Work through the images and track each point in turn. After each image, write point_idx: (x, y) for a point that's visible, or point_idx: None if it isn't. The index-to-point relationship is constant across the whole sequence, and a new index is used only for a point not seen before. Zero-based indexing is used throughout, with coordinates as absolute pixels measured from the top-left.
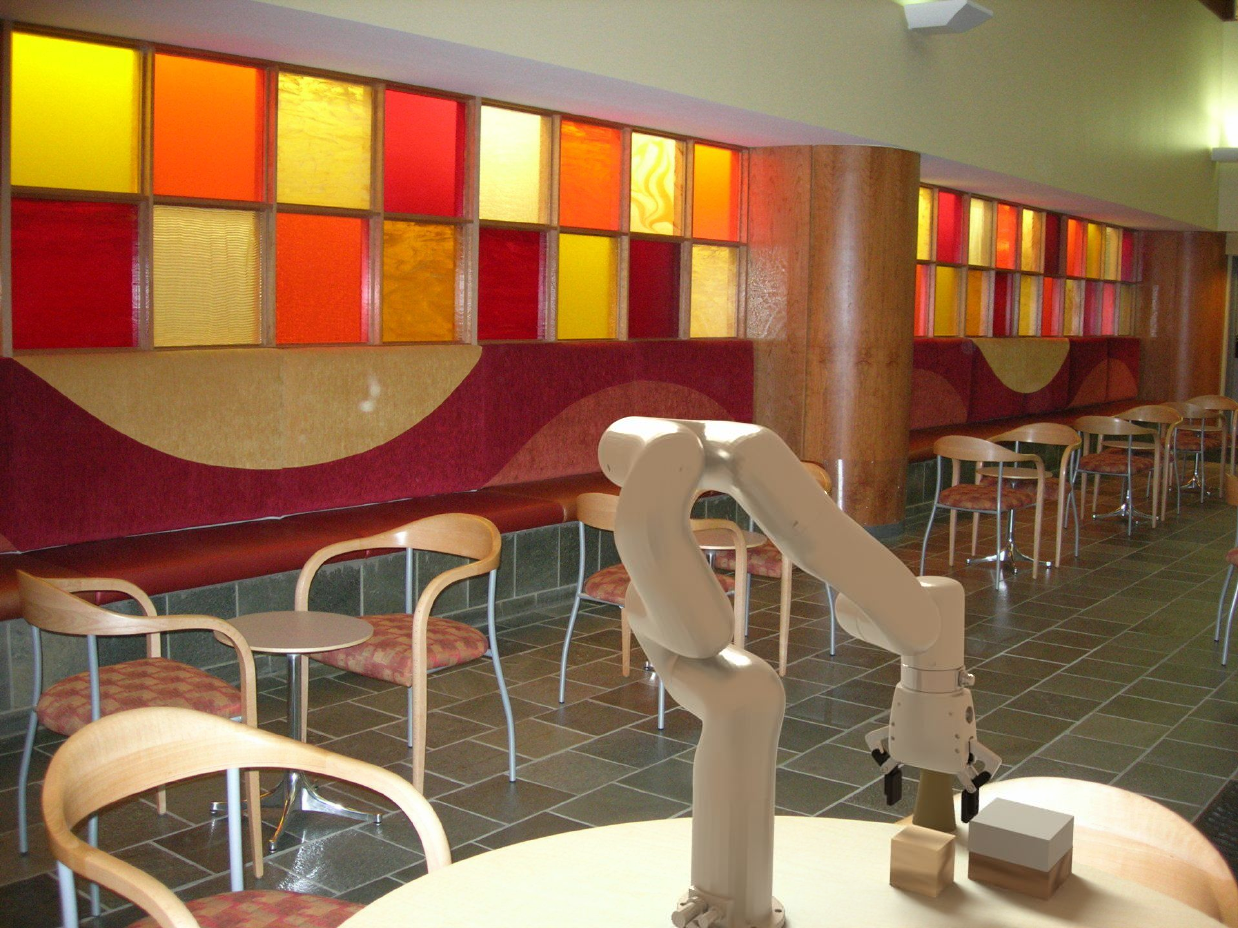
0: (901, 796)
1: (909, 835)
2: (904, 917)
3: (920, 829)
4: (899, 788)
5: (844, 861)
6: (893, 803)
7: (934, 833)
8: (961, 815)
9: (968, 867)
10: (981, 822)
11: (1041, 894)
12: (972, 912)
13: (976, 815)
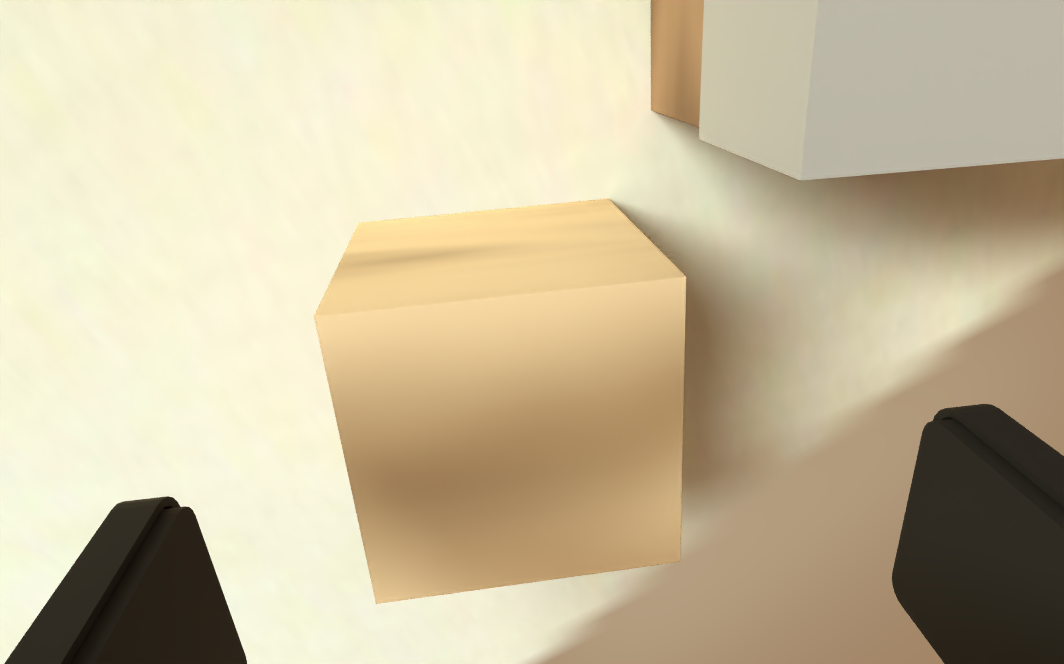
0: (184, 522)
1: (432, 491)
2: (590, 611)
3: (433, 358)
4: (154, 653)
5: (80, 384)
6: (239, 661)
7: (547, 351)
8: (928, 635)
9: (670, 116)
10: (914, 156)
11: None
12: (782, 420)
13: (833, 5)
